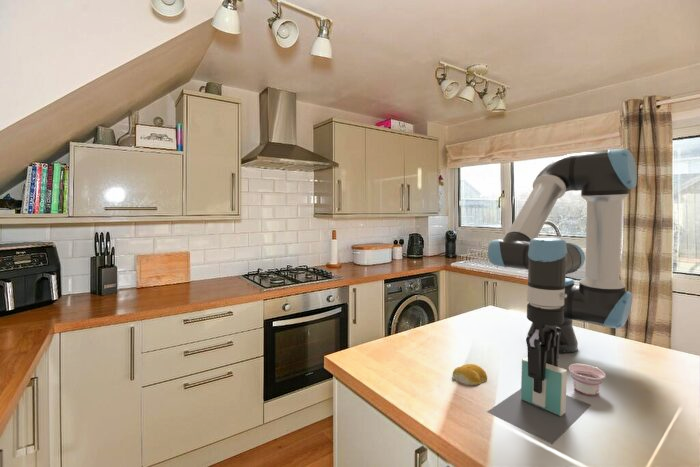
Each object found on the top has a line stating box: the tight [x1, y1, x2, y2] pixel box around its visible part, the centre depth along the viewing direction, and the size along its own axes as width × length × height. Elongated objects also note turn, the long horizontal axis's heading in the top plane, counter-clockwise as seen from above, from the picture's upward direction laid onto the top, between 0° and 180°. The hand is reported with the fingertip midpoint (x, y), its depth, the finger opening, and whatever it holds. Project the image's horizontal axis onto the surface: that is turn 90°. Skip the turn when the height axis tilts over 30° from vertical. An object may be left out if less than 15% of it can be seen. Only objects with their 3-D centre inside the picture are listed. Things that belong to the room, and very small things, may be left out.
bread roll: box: [452, 363, 488, 386], centre depth 96 cm, size 8×9×4 cm
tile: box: [520, 356, 568, 416], centre depth 81 cm, size 9×3×10 cm, turn 38°
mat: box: [486, 388, 592, 445], centre depth 80 cm, size 14×22×1 cm, turn 128°
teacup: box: [568, 362, 606, 396], centre depth 88 cm, size 12×12×6 cm
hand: (542, 401), depth 81 cm, fingers closed on tile, 3 cm apart
